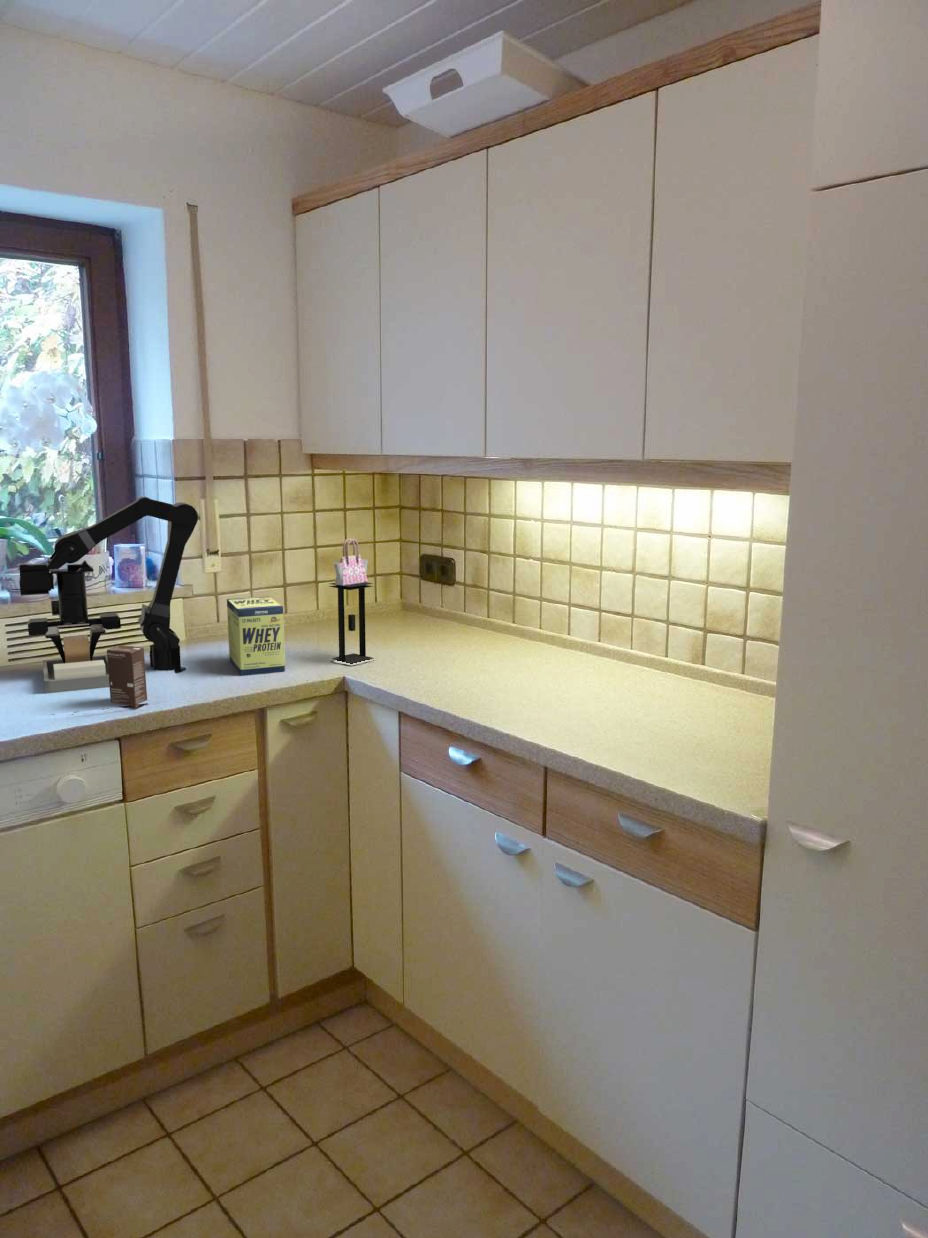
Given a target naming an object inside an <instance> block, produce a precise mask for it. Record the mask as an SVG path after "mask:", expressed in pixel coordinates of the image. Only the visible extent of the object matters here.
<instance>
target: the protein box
mask: <svg viewBox="0 0 928 1238" xmlns="http://www.w3.org/2000/svg"><path fill="white" fill-rule="evenodd" d="M226 607H227V608H226V609H227V614H226V615H227V631H228V632H227V633H228V634H227V635H228V654H229V657H228V658H229V662H230V663H231V665H232V666H233V667H234V669H235V670H236V671H237V672H238V674H239V676H242V677H243V676H250V675H251V676H252V674H253V675H259V674H258V673H263V674H270V673H284V672H283V671H285V672H286V658H285V629H284V628H285V625H284V606H283V605H282V604H280V603H279V602H278V601H277V600H274V598H272V597H270V596H255V597H254V596H253V597H240V598H239V597H237V598H235V597H234V598H226Z"/></svg>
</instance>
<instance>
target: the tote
mask: <svg viewBox="0 0 928 1238" xmlns="http://www.w3.org/2000/svg"><path fill="white" fill-rule="evenodd" d="M96 660H104V663H105V669H106V675H100V676H90V677H79V678H69V679H59V680H55V678H54V666H53V664H63V661H62V658H59V659H57V658H56V659H46V660H42V672H43V680H44V688H45V689H44V690H45V695H47V694H55V693H65V692H75V691H84V690H94V689H104V688H110V686H109V673H108V659H107V654H104V655H93V658H92V661H96Z"/></svg>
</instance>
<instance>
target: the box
mask: <svg viewBox="0 0 928 1238" xmlns="http://www.w3.org/2000/svg"><path fill="white" fill-rule="evenodd" d="M106 655H107V659H108V673H109V686H110V687H109V694H110V695H109V696H110V703H112V704H119V706H117V708H122V709H123V708H125V709H132V710H137V709H139V708H142V707H144V706H146V705H148V702H147V703H146V701H148V692H147V677H146V663H145V662H146V661H145V660H146V659H145V647H140V646H133V645H120V644H119V645H117V646H116V645H115V646H113V647H111V648H108V649H107V650H106ZM143 702H145V703H143Z"/></svg>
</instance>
